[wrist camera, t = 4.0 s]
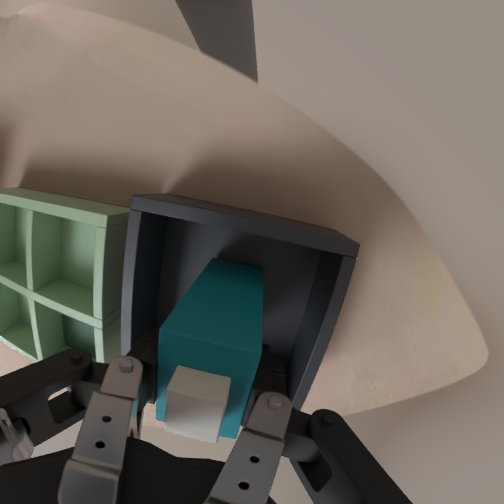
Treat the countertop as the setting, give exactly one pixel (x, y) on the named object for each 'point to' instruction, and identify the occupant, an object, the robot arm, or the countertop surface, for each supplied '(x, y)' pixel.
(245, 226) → the open box
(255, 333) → the block
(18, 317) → the rack
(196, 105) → the countertop surface
